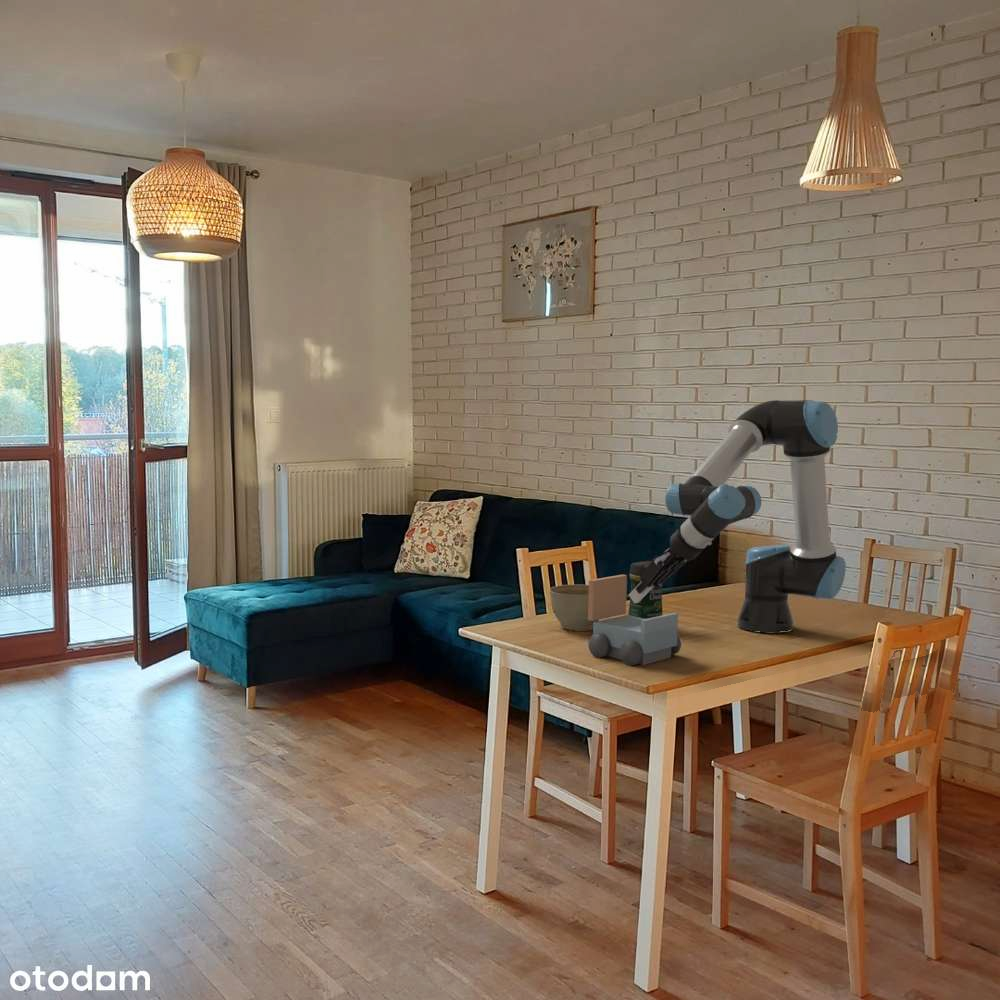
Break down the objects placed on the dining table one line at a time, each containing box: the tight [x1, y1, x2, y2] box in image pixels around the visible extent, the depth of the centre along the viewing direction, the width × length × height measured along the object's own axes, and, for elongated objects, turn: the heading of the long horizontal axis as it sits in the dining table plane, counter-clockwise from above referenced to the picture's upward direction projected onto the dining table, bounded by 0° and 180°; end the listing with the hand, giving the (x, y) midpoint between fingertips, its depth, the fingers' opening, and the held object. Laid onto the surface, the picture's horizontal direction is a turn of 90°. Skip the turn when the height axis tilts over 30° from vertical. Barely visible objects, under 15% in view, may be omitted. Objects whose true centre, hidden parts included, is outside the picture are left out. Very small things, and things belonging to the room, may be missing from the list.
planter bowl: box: [548, 584, 600, 632], centre depth 280 cm, size 16×16×11 cm
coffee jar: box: [627, 560, 664, 619], centre depth 282 cm, size 10×8×19 cm
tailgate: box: [588, 574, 628, 621], centre depth 256 cm, size 2×13×10 cm, turn 134°
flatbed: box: [588, 612, 682, 667], centre depth 250 cm, size 16×17×11 cm
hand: (633, 598), depth 248 cm, fingers closed
